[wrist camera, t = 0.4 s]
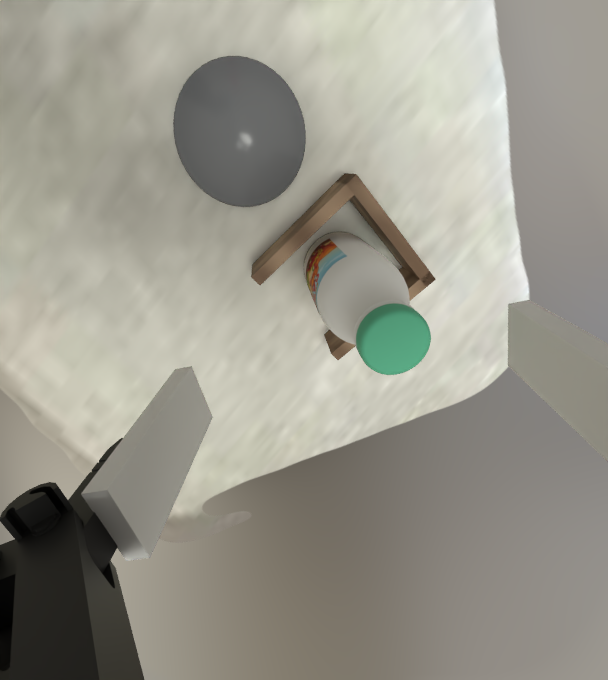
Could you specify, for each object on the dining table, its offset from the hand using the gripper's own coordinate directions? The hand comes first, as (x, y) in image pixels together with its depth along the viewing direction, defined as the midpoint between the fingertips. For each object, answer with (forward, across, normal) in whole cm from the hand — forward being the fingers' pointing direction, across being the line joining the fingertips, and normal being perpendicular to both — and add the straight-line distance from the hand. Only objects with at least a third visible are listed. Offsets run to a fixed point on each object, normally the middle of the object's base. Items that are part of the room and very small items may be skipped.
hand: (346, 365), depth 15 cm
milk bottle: (+27, +1, -2) cm, 27 cm away
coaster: (+25, -6, +12) cm, 28 cm away
